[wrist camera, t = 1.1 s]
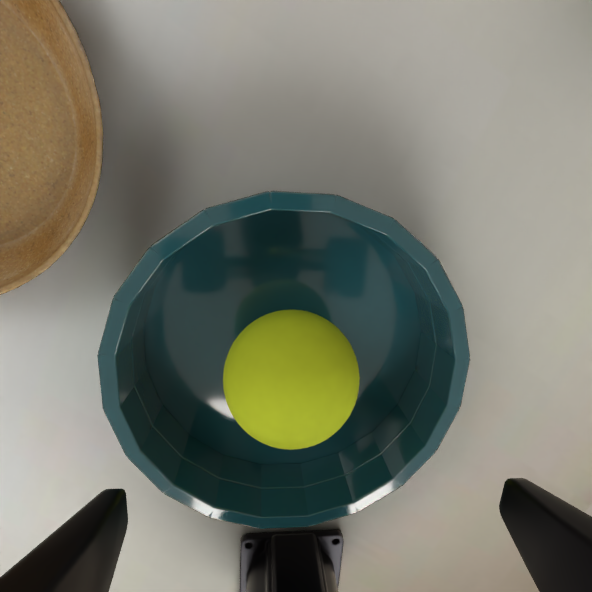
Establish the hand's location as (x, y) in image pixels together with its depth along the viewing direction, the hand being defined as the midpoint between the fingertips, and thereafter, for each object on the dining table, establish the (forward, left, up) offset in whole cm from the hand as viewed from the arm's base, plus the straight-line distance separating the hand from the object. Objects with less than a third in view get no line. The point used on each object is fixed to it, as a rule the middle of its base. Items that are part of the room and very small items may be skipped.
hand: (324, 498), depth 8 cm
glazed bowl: (-1, 0, -11) cm, 11 cm away
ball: (-1, 0, -11) cm, 11 cm away
